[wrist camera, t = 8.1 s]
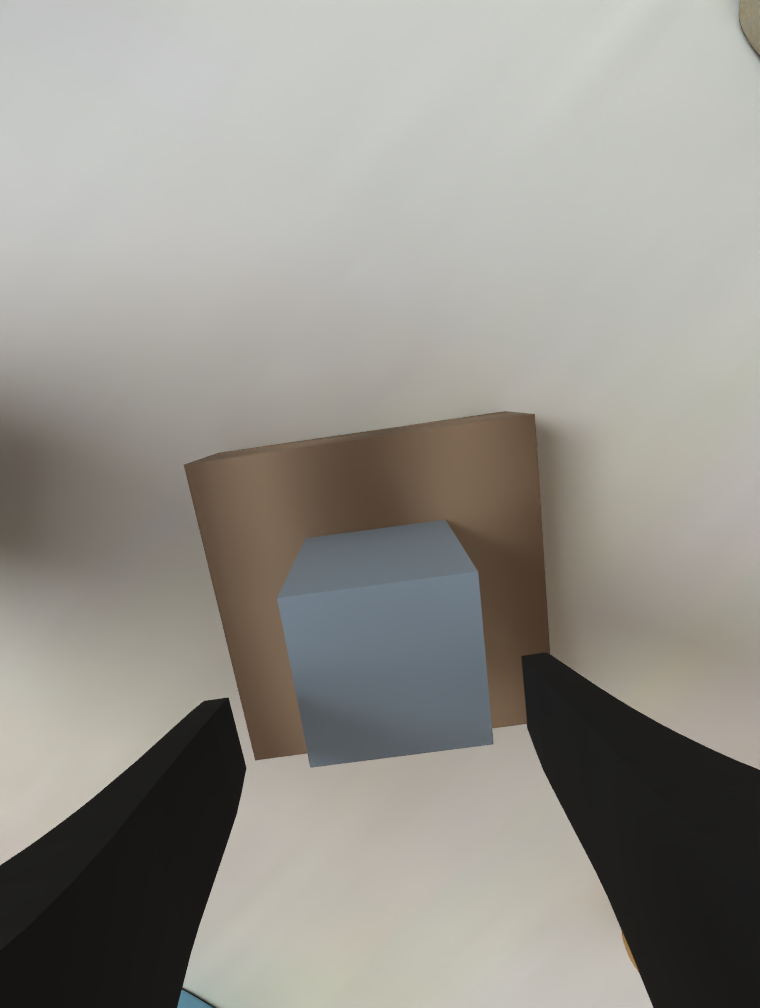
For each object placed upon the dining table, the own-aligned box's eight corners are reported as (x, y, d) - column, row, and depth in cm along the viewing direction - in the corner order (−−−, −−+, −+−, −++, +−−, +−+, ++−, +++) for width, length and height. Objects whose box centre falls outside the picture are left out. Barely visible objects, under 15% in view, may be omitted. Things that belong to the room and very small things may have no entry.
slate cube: (327, 663, 17) (310, 767, 12) (305, 538, 16) (277, 598, 11) (458, 646, 17) (493, 744, 12) (445, 519, 16) (478, 571, 11)
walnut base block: (276, 696, 22) (255, 760, 18) (221, 451, 19) (183, 465, 15) (521, 662, 22) (554, 719, 18) (501, 411, 19) (534, 414, 15)
